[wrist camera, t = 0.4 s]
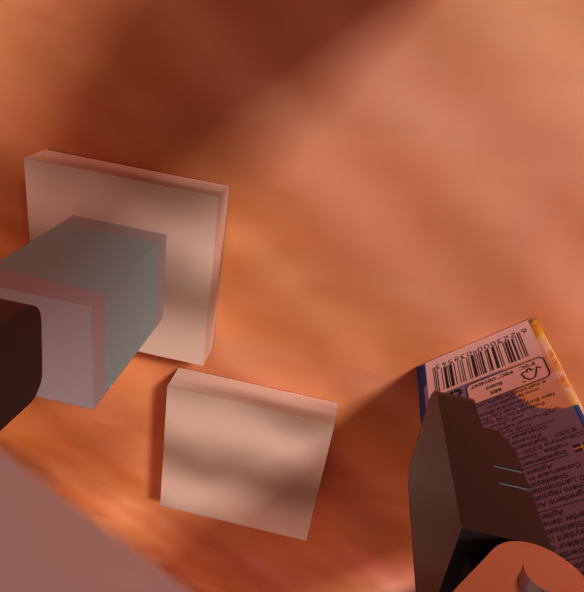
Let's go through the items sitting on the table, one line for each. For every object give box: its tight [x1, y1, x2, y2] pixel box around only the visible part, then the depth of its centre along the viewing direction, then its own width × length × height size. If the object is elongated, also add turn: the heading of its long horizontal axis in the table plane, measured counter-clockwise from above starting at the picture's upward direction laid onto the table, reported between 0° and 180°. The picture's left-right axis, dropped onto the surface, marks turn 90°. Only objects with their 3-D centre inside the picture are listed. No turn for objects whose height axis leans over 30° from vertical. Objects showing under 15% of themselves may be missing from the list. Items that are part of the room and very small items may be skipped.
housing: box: [0, 215, 167, 410], centre depth 26 cm, size 5×5×8 cm
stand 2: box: [160, 368, 338, 541], centre depth 35 cm, size 10×10×2 cm
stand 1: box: [24, 150, 229, 366], centre depth 30 cm, size 10×10×2 cm
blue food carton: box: [417, 317, 584, 576], centre depth 22 cm, size 7×11×22 cm, turn 33°
